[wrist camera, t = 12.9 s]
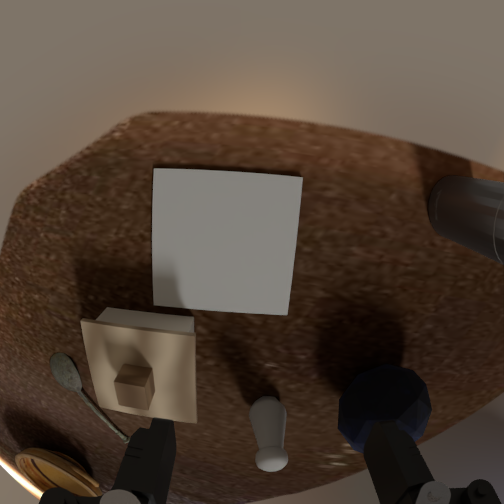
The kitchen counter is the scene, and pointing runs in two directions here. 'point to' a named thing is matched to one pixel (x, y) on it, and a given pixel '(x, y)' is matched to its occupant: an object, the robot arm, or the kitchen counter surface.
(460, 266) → the kitchen counter surface
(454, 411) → the kitchen counter surface
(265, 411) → the salt shaker
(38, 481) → the ceramic bowl
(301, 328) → the kitchen counter surface
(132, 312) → the white open box
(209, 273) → the tray
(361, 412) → the decorative orb
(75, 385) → the soupspoon
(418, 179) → the kitchen counter surface
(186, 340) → the lid
